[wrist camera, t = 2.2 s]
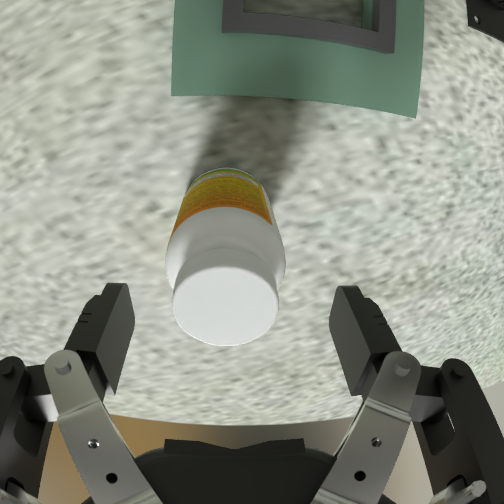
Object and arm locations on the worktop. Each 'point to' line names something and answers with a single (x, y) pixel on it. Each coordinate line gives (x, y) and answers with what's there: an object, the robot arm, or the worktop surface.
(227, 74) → the socket board
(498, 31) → the circuit board
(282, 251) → the supplement bottle
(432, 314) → the worktop surface
